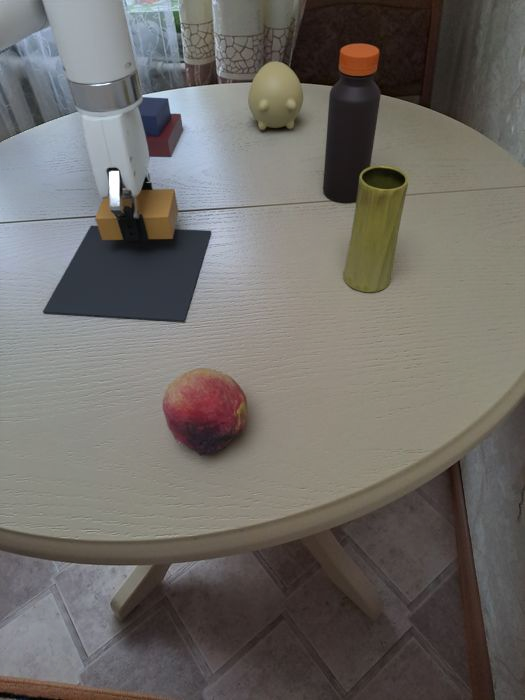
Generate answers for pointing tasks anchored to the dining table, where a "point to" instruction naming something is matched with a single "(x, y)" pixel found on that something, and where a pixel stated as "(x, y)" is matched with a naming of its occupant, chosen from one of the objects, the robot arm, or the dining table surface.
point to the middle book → (154, 115)
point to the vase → (375, 228)
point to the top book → (143, 214)
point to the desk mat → (131, 277)
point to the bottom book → (166, 138)
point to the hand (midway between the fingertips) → (140, 223)
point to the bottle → (351, 122)
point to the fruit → (205, 410)
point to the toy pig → (275, 96)
